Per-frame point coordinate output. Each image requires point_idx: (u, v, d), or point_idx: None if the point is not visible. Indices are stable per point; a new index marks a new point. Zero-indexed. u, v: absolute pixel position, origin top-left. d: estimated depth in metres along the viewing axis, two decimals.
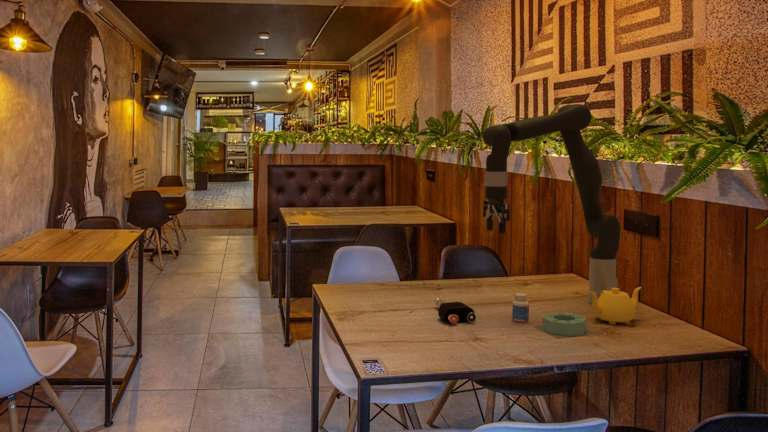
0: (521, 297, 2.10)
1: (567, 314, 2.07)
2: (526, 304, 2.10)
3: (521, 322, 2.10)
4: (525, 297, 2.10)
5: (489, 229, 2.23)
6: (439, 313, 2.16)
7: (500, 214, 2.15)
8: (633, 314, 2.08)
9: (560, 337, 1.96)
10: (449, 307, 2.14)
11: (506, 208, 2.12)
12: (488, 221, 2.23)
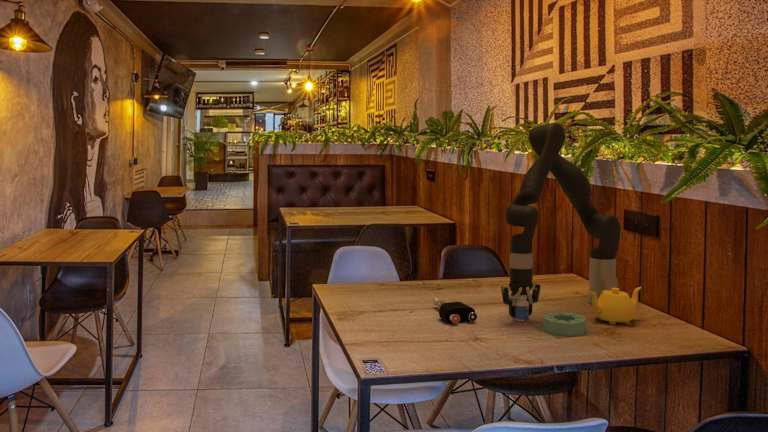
0: (521, 297, 2.10)
1: (567, 314, 2.07)
2: (526, 304, 2.10)
3: (521, 322, 2.10)
4: (525, 297, 2.10)
5: None
6: (440, 313, 2.16)
7: None
8: (633, 314, 2.08)
9: (560, 337, 1.96)
10: (450, 307, 2.14)
11: None
12: None
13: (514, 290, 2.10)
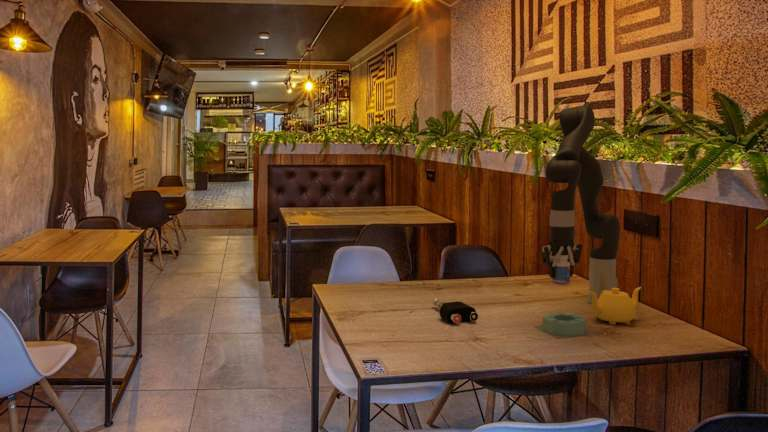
0: (562, 257, 2.00)
1: (567, 314, 2.07)
2: (567, 264, 2.00)
3: (562, 283, 2.00)
4: (566, 257, 2.00)
5: None
6: (441, 313, 2.16)
7: None
8: (633, 314, 2.08)
9: (560, 337, 1.96)
10: (451, 307, 2.14)
11: None
12: None
13: (555, 249, 1.99)
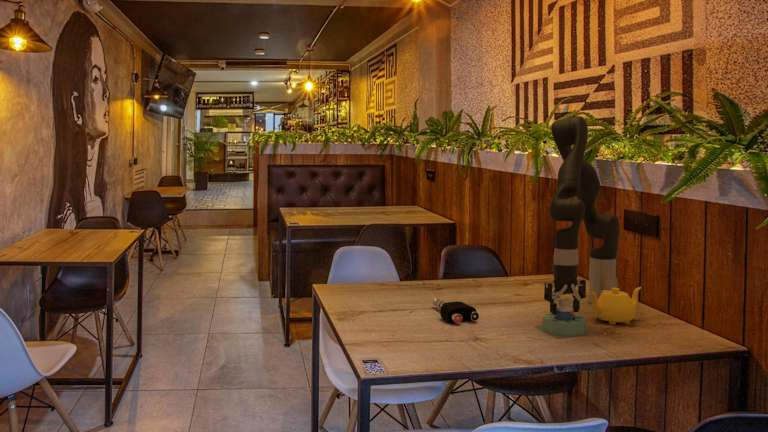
0: (565, 302, 2.01)
1: None
2: (570, 309, 2.01)
3: None
4: (569, 302, 2.01)
5: None
6: (441, 313, 2.16)
7: None
8: (633, 314, 2.08)
9: (560, 337, 1.96)
10: (452, 307, 2.15)
11: None
12: None
13: (558, 286, 2.00)
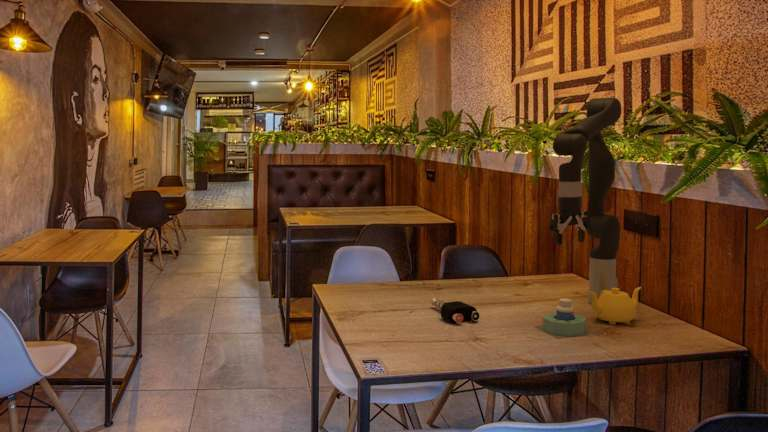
0: (566, 303, 2.01)
1: None
2: (571, 310, 2.01)
3: None
4: (570, 303, 2.01)
5: None
6: (442, 313, 2.16)
7: None
8: (633, 314, 2.08)
9: (560, 337, 1.96)
10: (452, 307, 2.15)
11: None
12: None
13: (564, 218, 2.10)
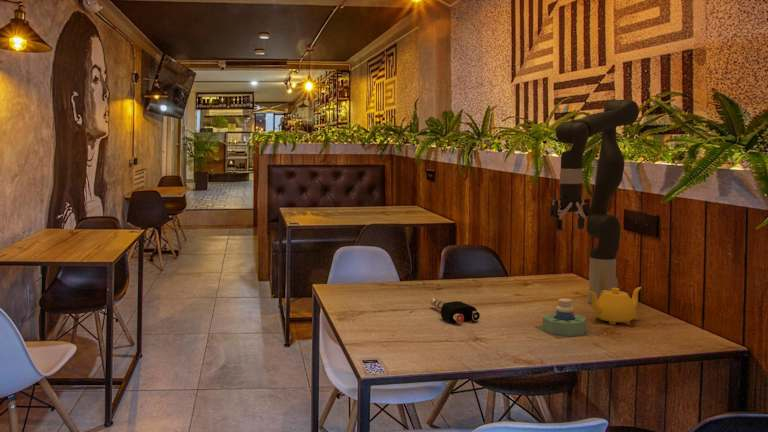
0: (565, 303, 2.01)
1: None
2: (571, 310, 2.01)
3: None
4: (570, 303, 2.01)
5: None
6: (442, 313, 2.16)
7: None
8: (633, 314, 2.08)
9: (560, 337, 1.96)
10: (453, 307, 2.15)
11: None
12: None
13: (564, 204, 2.15)
